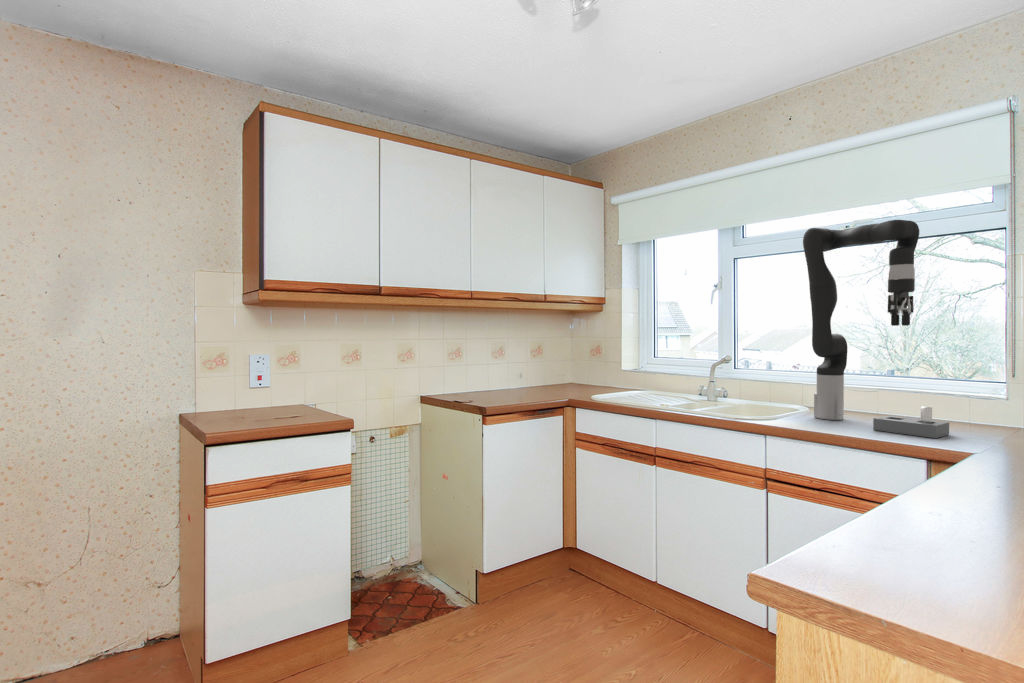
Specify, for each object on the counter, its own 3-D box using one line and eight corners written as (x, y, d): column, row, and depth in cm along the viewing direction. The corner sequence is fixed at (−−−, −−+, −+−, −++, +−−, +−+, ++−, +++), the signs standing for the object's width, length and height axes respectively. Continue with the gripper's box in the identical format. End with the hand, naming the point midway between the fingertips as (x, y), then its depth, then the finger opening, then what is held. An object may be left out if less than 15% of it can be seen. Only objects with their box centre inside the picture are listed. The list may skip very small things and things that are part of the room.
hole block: (873, 429, 188) (873, 418, 188) (887, 426, 194) (887, 415, 194) (935, 438, 173) (936, 425, 173) (949, 434, 179) (949, 422, 179)
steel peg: (919, 433, 180) (919, 407, 180) (922, 432, 182) (922, 406, 182) (929, 435, 178) (930, 408, 177) (933, 434, 179) (933, 407, 179)
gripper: (897, 280, 194) (897, 325, 194) (879, 278, 186) (878, 325, 186) (922, 278, 187) (921, 325, 188) (904, 276, 180) (904, 325, 180)
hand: (900, 325), depth 187 cm, fingers open, 8 cm apart
